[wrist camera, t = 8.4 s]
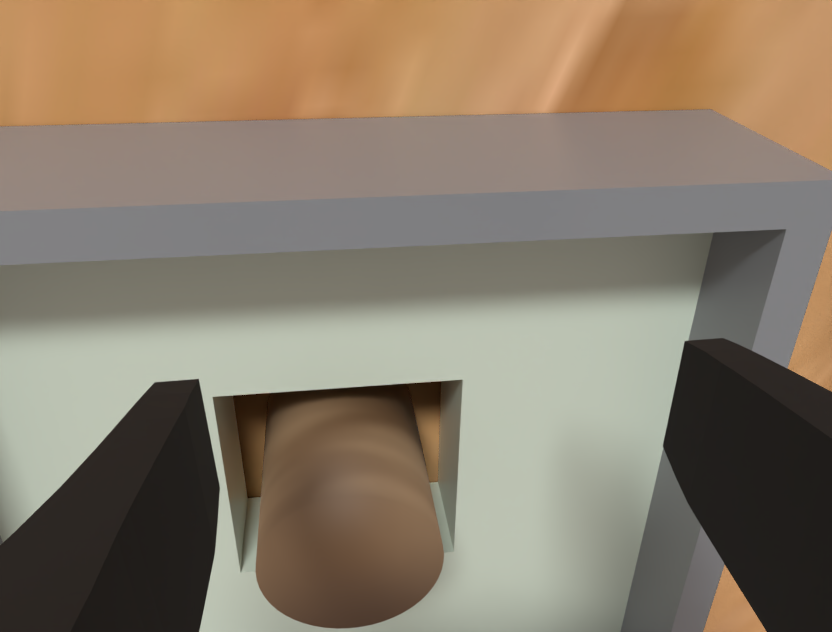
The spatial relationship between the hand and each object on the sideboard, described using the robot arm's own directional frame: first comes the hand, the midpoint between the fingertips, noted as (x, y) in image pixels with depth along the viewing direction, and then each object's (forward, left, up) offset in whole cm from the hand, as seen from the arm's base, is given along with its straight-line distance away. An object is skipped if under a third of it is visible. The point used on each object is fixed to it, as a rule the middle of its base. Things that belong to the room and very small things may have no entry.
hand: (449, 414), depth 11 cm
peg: (+2, +7, -9) cm, 12 cm away
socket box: (+2, +7, -9) cm, 12 cm away
